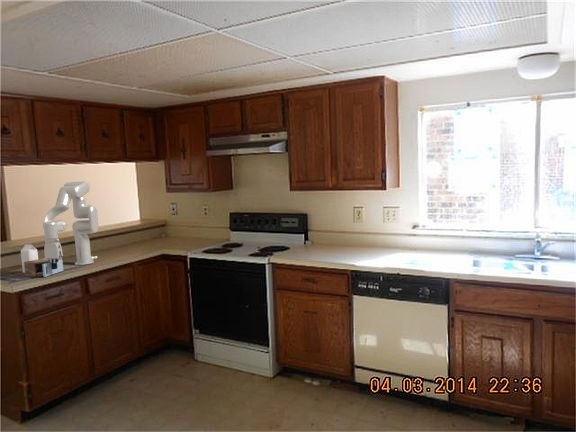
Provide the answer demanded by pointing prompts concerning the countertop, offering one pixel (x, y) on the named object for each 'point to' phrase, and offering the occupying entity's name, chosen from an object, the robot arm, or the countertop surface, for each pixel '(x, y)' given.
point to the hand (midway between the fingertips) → (54, 269)
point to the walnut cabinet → (34, 267)
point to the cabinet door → (48, 268)
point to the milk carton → (28, 254)
